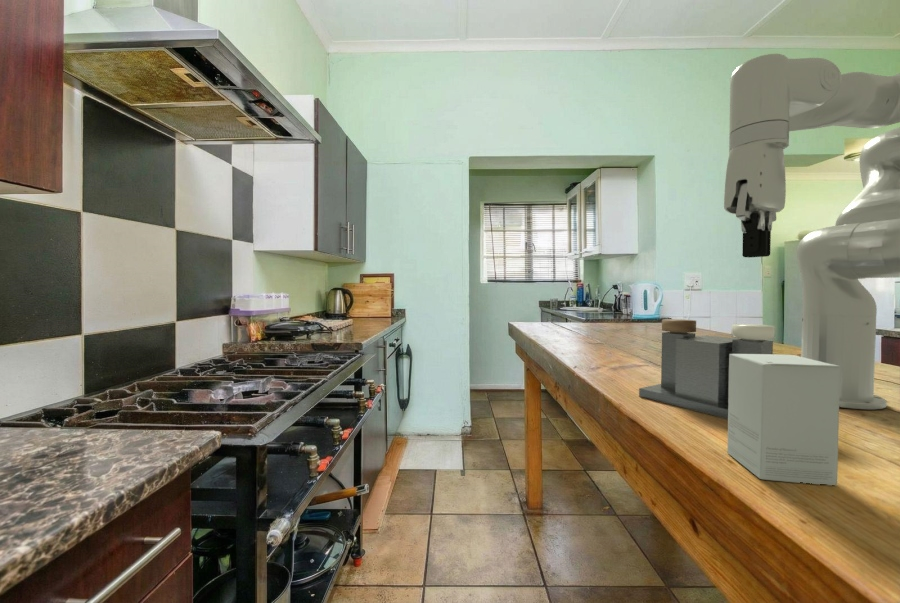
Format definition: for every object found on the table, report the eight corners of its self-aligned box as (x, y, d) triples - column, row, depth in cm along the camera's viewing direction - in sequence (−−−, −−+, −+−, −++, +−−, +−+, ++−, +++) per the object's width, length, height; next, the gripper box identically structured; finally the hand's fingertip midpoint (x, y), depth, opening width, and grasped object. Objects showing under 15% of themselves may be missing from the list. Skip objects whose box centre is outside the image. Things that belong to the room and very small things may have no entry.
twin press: (678, 387, 81) (679, 329, 80) (794, 412, 64) (796, 340, 64) (639, 396, 74) (640, 333, 74) (756, 426, 58) (758, 346, 57)
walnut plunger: (671, 378, 78) (672, 318, 78) (701, 384, 73) (702, 320, 73) (654, 381, 76) (655, 319, 75) (684, 388, 71) (685, 322, 70)
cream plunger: (740, 392, 68) (741, 323, 68) (779, 400, 63) (781, 326, 63) (723, 396, 65) (724, 324, 65) (763, 405, 60) (765, 327, 60)
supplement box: (840, 487, 40) (844, 365, 40) (758, 480, 42) (761, 363, 41) (793, 457, 48) (796, 353, 47) (724, 452, 49) (727, 351, 49)
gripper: (753, 155, 70) (751, 259, 70) (707, 141, 62) (706, 257, 63) (807, 142, 63) (805, 256, 64) (763, 124, 56) (761, 253, 56)
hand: (756, 256), depth 63 cm, fingers closed
